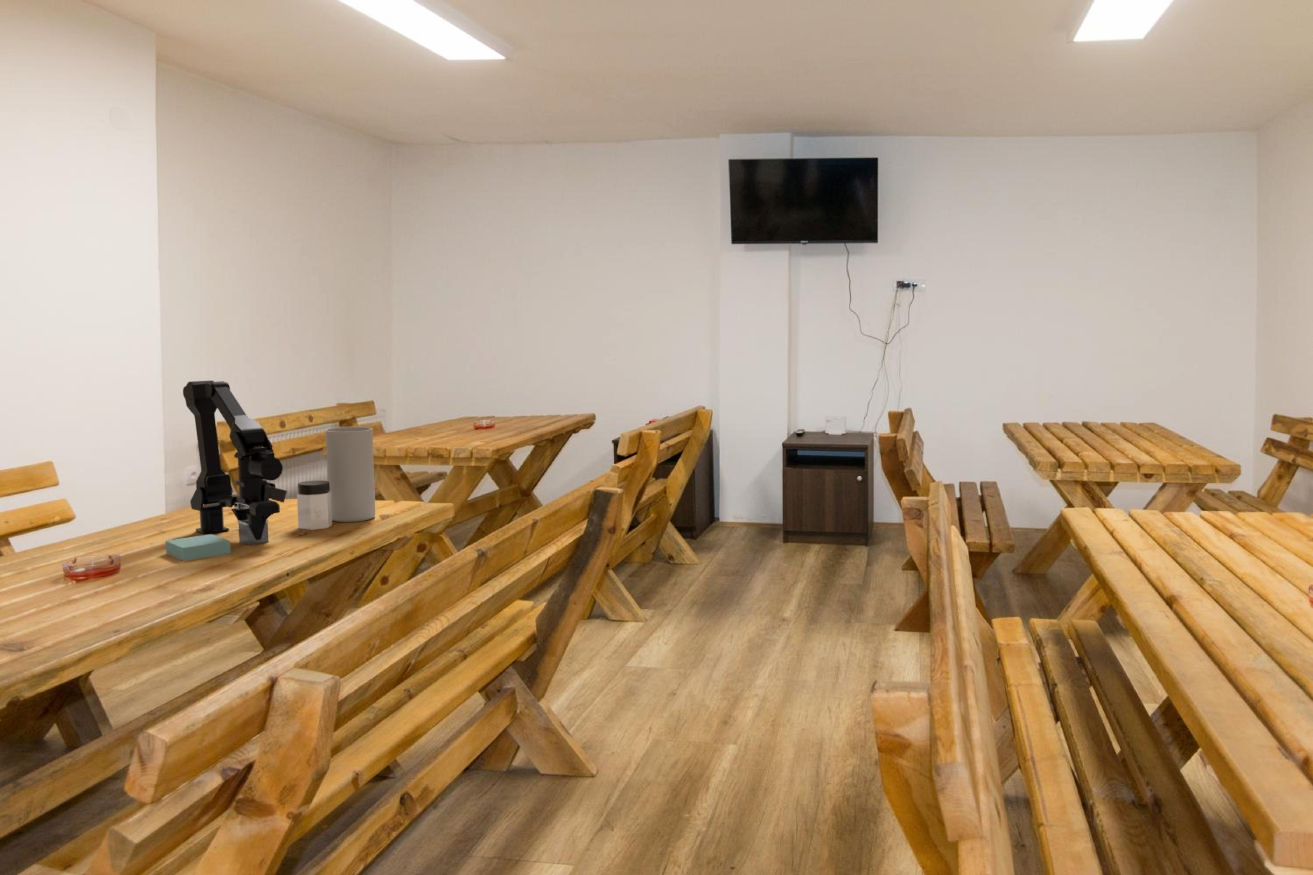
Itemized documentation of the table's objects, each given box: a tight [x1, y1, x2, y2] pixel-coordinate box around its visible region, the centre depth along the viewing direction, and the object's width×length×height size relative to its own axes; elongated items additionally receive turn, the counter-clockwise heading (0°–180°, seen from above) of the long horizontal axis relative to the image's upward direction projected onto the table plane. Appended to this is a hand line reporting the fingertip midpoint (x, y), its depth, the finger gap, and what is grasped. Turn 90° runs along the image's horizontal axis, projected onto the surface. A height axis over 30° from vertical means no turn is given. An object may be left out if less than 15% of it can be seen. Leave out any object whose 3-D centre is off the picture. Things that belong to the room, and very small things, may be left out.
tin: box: [237, 519, 269, 546], centre depth 274 cm, size 5×5×6 cm
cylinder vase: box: [324, 426, 376, 523], centre depth 304 cm, size 12×12×25 cm
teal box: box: [165, 533, 231, 562], centre depth 262 cm, size 11×11×4 cm
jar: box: [296, 480, 333, 531], centre depth 293 cm, size 9×8×12 cm
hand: (253, 537), depth 274 cm, fingers closed on tin, 5 cm apart
